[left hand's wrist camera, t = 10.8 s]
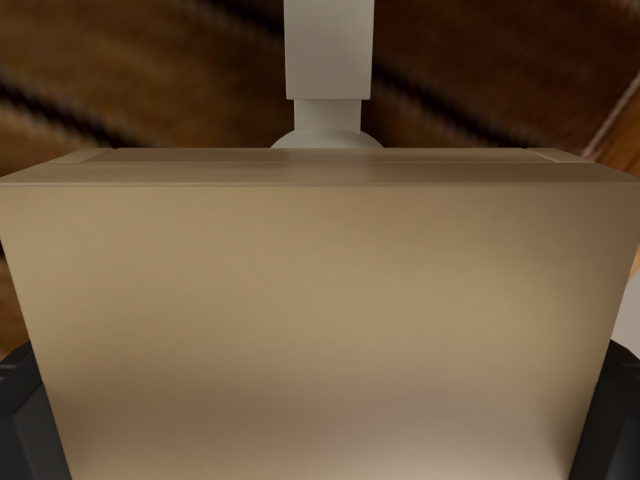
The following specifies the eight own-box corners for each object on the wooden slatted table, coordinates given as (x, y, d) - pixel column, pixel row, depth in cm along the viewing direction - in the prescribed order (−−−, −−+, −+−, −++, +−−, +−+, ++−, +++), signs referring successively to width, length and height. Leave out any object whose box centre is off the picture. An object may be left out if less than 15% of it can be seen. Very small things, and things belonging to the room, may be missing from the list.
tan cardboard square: (487, 485, 13) (534, 601, 10) (151, 485, 13) (106, 601, 10) (556, 147, 9) (658, 182, 6) (83, 147, 9) (-19, 183, 6)
